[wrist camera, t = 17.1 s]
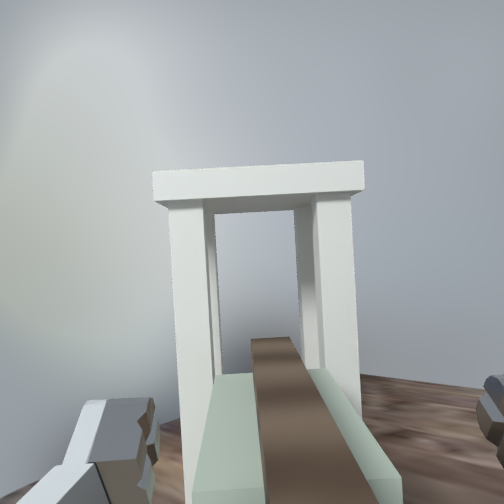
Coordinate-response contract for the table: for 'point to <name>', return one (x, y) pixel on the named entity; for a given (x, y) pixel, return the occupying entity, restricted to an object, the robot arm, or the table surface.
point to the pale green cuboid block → (248, 447)
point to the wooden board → (300, 434)
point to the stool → (308, 273)
